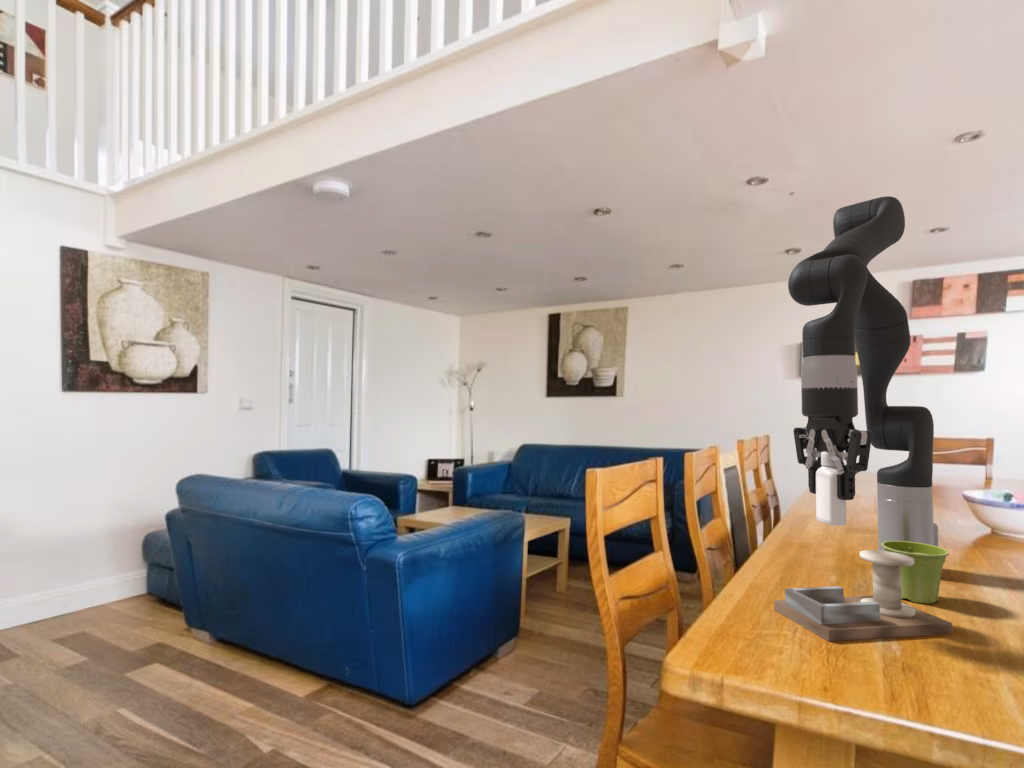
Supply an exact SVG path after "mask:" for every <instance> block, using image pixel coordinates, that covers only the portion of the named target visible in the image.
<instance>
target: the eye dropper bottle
mask: <svg viewBox="0 0 1024 768" xmlns="http://www.w3.org/2000/svg"><path fill="white" fill-rule="evenodd" d="M821 465H823V466H822V467H820V468H819V469H818V470H817V471H816V494H815V510H816V511H815V518H816V520H817V521H818V522H820V523H823V524H825V525H829V526H838V527H839V526H841V527H842V526H843V527H844V526H846V525H847V500H841V499H838V497H837V474H839V473H838V472H837V468H836V465H835V462H834V460H832V459H831V458H830V456H829V452H826V451H823V452H821Z"/></svg>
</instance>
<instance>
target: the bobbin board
mask: <svg viewBox="0 0 1024 768" xmlns="http://www.w3.org/2000/svg"><path fill="white" fill-rule="evenodd" d="M859 558H860V559H861V560H864V561H866V562H869V563H872V595H862V596H861V595H860V596H858V595H855V596H844V595H845V594H844V587H841V586H839V585H837V586H835V585H833V586H818V587H817V586H816V587H815V586H814V587H812V586H811V587H810V586H809V587H788V588H784V599H777V600H776V599H775V600H774V601H773V603H774V608H773V609H774V611H776V612H777V613H779V614H780V615H782V616H784V617H786V618H788V619H789V620H790V621H793V622H795V623H796V624H798V625H799V626H801V627H803V628H805V629H807V630H808V631H809V632H812V633H813V634H815V635H816V636H818V637H821V639H823V640H825V641H827V642H839V641H855V640H856V641H857V640H870V639H872V640H875V639H886V638H887V639H888V638H889V639H890V638H901V637H902V638H904V637H906V638H907V637H919V636H921V637H922V636H934V635H951V634H953V622H950V621H948V620H946V619H943V618H941V617H939V616H936V615H934V614H932V613H928V612H926V611H924V610H921V609H919V608H916V607H914V606H911V605H910V604H906V603H904V602H902V599H901V566H912V565H914V559H913V558H912V557H910V556H907V555H904V554H899V553H895V552H889V551H880V550H879V549H865V550H861V551H859Z"/></svg>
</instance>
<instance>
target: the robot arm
mask: <svg viewBox="0 0 1024 768" xmlns="http://www.w3.org/2000/svg"><path fill="white" fill-rule="evenodd" d="M905 218H906V216H905V212H904V208H903V205H902V202H900V200H899V199H898V198H897V197H895V196H880V197H876V198H873V199H868V200H865V201H860V202H858V203H854V204H850V205H846V206H843V207H840V208H837V210H836V211H835V213H834V216H833V220H832V221H833V223H832V226H833V234H834V235H833V236H834V239H833V240H831V241H830V242H829V243H828V244H827V246H826V247H825V248H824V249H822V250H821V251H819V252H816V253H813V254H812V255H810V256H808V257H806V258H804V259H803V260H801V261H800V262H799V263H797V264H796V265H795V266H794V268H793V269H792V270H791V273H790V275H789V277H788V283H787V287H788V293H789V296H790V298H792V300H793V301H794V302H795V303H797V304H799V305H800V306H801V305H802V306H806V307H807V306H809V307H810V306H819V305H827V304H829V305H830V304H835V306H834V307H833V309H832V310H831V312H830V313H829V314H827V315H824V316H822V317H817V318H815V319H812V320H809V321H808V322H805V323H804V325H803V327H802V335H801V336H802V363H801V364H802V365H801V372H800V374H801V375H800V376H801V377H800V379H801V380H800V381H801V382H800V383H801V385H800V387H801V414H802V416H803V417H805V418H807V424H806V426H805V427H794V428H793V438H794V444H795V451H796V456H797V457H796V459H797V463H798V464H800V465H803V466H804V467H805V469H807V474H808V475H807V476H808V477H807V478H808V491H809V493H811V494H813V495H814V494H815V495H816V471H817V470H818V469H819V468H820V467H822V466H823V465H821V452H823V451H826V452H829V456H830V458H831V459H832V460H834V462H835V465H836V468H837V472H838V473H839V474H837V497H838V499H841V500H846V501H852V500H854V499H855V496H856V475H857V474H858V473H860V472H865V471H867V470H868V466H869V462H870V461H869V459H870V453H871V446H872V447H874V448H875V449H877V450H878V449H879V450H881V451H882V450H883V451H900V452H908V458H906V459H905V460H904V461H902V462H899V463H898V464H895V465H889V466H886V467H882V468H878V470H877V473H876V491H877V495H876V496H877V498H876V499H877V537H878V539H877V541H878V542H877V543H878V550H880V551H885V550H884V548H883V547H882V545H881V544H882V543H883V542H886V541H908V542H917V543H923V544H929V545H933V546H937V547H939V526H938V524H937V523H934V501H933V498H934V497H933V495H934V494H933V472H934V465H933V464H934V463H933V460H934V459H933V457H934V456H933V455H934V454H933V453H934V450H933V449H934V433H935V431H934V429H935V428H934V427H935V426H934V418H933V414H932V412H931V410H929V408H927V407H926V406H922V405H921V406H920V405H919V406H918V405H916V406H915V405H888V403H887V391H888V387H889V386H890V384H891V383H890V382H891V381H892V379H893V377H894V374H895V373H896V371H897V370H898V368H899V367H900V365H901V363H902V362H903V360H904V359H905V357H906V355H907V354H908V351H910V350H909V349H910V346H911V332H910V326H909V319H908V313H907V309H905V308H906V307H904V306H903V305H902V303H901V302H900V301H899V299H897V298H896V296H894V294H892V292H890V291H888V289H887V288H885V287H884V285H882V284H881V283H880V282H879V281H878V280H877V279H876V278H875V277H874V276H873V274H872V272H870V270H869V269H868V265H869V263H870V262H872V260H873V259H875V258H876V257H877V256H878V255H879V254H881V253H882V252H884V251H885V250H887V249H888V248H889V247H891V246H893V245H895V244H896V243H897V242H899V241H900V240H901V239H902V237H903V235H904V233H905V227H906V219H905ZM856 353H857V358H858V364H859V369H860V374H861V380H862V387H863V389H862V390H863V402H864V413H865V415H864V416H865V425H866V426H865V427H866V430H859V429H856V427H855V425H854V421H853V418H855V417H858V415H859V397H858V396H859V395H858V394H859V393H858V390H859V388H858V368H857V363H856ZM804 450H805V451H804ZM805 454H807V456H806V455H805ZM857 459H858V462H857ZM844 461H845V463H846V464H845V463H844Z"/></svg>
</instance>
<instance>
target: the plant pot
mask: <svg viewBox="0 0 1024 768" xmlns="http://www.w3.org/2000/svg"><path fill="white" fill-rule="evenodd" d="M881 545H882V547H883V548H884V550H885V551H889V552H895V553H899V554H904V555H907V556H910V557H912V558H913V559H914V565H912V566H901V600H902V599H907V600H909V601H910V602H913V603H916V604H926V605H929V604H934V603H935V602H938V599H939V592H940V585H941V579H942V578H941V577H942V573H943V567H944V564H945V563H946V557H948V556H949V555H950V552H949V550H947V549H945V548H943V547H941V546H938V547H937V546H933V545H929V544H923V543H917V542H908V541H886V542H883V543H882V544H881Z"/></svg>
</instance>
